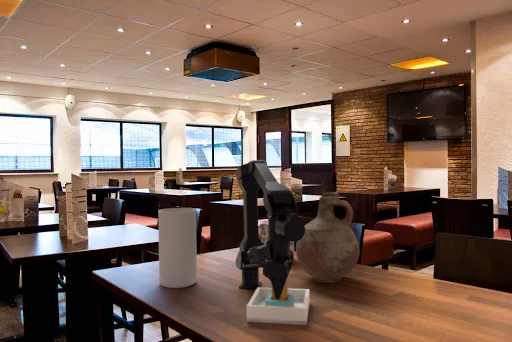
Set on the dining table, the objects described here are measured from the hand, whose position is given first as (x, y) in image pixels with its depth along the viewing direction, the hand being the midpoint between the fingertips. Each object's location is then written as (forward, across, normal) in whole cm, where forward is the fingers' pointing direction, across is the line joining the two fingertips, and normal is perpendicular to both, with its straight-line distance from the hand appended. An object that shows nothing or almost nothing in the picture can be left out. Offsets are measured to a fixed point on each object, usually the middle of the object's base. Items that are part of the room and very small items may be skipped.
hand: (279, 293), depth 107 cm
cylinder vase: (+5, -22, -38) cm, 44 cm away
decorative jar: (+5, -61, -9) cm, 62 cm away
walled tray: (+5, 0, 0) cm, 5 cm away
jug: (+5, -33, +12) cm, 36 cm away
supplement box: (+4, 0, 0) cm, 4 cm away
